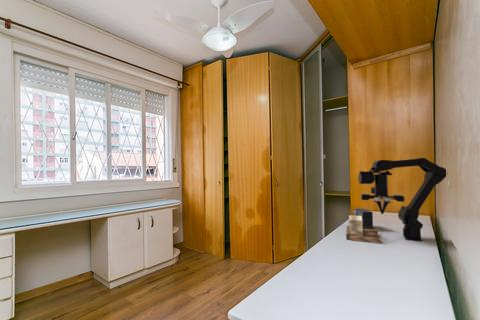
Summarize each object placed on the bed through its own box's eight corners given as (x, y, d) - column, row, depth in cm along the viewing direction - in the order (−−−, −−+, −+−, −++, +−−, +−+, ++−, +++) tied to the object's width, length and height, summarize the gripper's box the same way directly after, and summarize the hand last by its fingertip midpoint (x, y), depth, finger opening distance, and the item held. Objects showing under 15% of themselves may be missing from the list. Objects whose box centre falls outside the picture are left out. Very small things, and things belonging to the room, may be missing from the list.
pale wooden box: (362, 232, 125) (361, 215, 125) (363, 238, 115) (362, 220, 115) (349, 231, 127) (349, 215, 127) (349, 237, 117) (349, 219, 118)
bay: (377, 233, 124) (377, 228, 124) (381, 243, 109) (380, 237, 109) (347, 230, 130) (346, 225, 130) (346, 239, 116) (346, 233, 116)
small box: (374, 229, 131) (373, 211, 131) (362, 230, 131) (362, 212, 131) (363, 225, 142) (363, 208, 142) (353, 225, 142) (352, 208, 142)
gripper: (399, 182, 122) (400, 212, 121) (360, 182, 130) (361, 209, 130) (404, 184, 112) (405, 216, 111) (361, 184, 120) (362, 213, 120)
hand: (382, 213), depth 118 cm, fingers closed
